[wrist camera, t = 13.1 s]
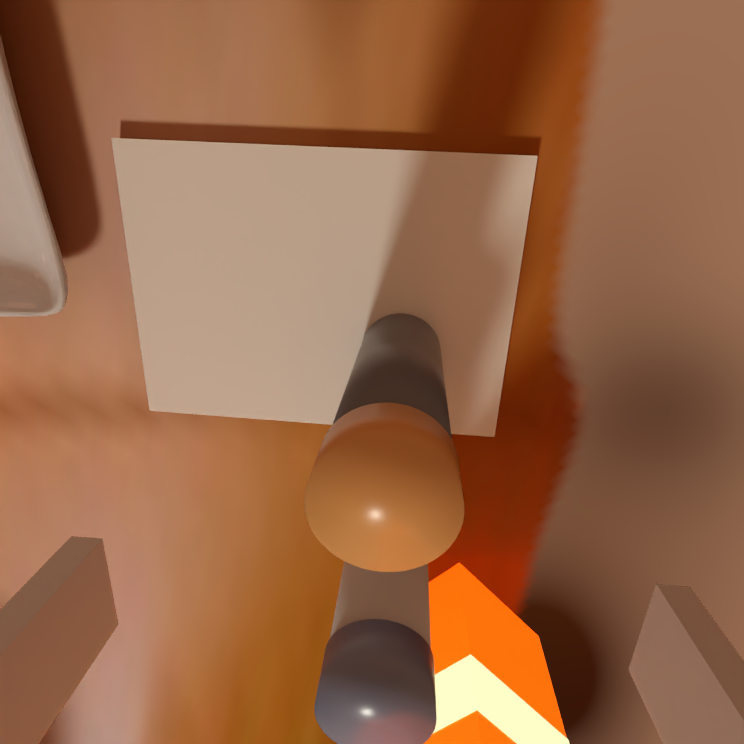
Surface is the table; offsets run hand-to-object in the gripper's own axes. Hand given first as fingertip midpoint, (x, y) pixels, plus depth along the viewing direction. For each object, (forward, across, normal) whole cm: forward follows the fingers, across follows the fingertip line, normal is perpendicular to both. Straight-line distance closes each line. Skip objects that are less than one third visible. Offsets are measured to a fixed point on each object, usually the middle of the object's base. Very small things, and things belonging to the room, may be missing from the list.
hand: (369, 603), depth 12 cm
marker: (+13, 0, -2) cm, 13 cm away
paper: (+14, +4, -4) cm, 15 cm away
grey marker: (+14, 0, +6) cm, 15 cm away
